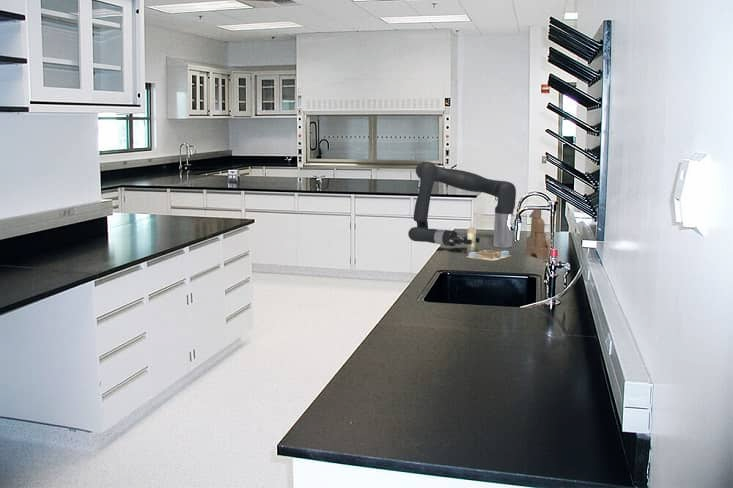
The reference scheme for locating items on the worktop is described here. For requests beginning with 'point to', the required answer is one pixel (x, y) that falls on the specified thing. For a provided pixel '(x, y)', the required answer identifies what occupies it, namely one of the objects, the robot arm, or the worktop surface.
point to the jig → (489, 255)
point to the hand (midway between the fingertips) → (475, 241)
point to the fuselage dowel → (471, 236)
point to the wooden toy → (537, 238)
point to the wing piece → (504, 253)
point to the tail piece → (473, 254)
